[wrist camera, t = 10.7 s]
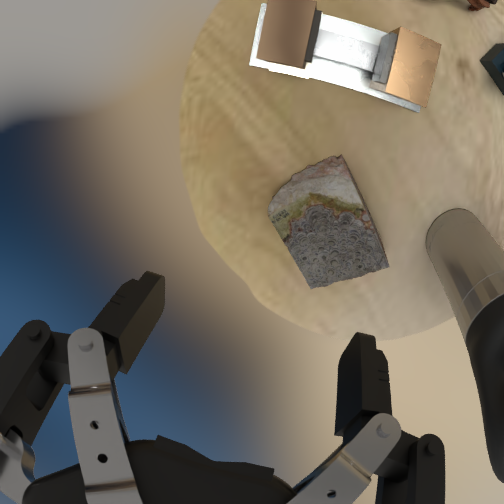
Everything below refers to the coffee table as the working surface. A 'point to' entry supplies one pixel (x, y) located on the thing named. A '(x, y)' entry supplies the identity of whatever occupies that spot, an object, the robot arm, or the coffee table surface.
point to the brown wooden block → (289, 32)
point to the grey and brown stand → (367, 60)
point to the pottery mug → (480, 4)
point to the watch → (495, 64)
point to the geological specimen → (327, 224)
